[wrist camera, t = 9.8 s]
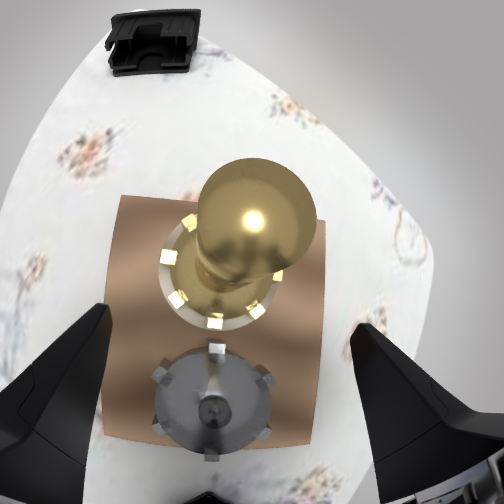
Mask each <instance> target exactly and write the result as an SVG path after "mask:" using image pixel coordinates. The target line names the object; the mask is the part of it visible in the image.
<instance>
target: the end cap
mask: <svg viewBox="0 0 504 504" xmlns="http://www.w3.org/2000/svg"><path fill="white" fill-rule="evenodd" d="M200 17H201V10H200V9H166V10H149V11H139V12H130V13H123V14H117V15H115V16H113V17H112V18H111V23H112V31H111V33H110V34H109V36H108V38H107V40H106V41H105V48H106V51H110V50H111V48H112V46H113V44H114V42H115V47H114V49H113V51H112V53H111V55H110V57H109V59H108V63H109V64H110V68H111V69H113V75H114V76H115V77H120V76H130V75H143V74H162V73H187V72H188V71H189V68H190V62H191V57H192V54H193V51H195V50H196V47H197V41H198V33H199V26H200Z"/></svg>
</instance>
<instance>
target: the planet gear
mask: <svg viewBox="0 0 504 504" xmlns="http://www.w3.org/2000/svg"><path fill="white" fill-rule="evenodd" d="M181 222H182V229H183V230H184V231H183V232H182V233H181V234H180V236H179V237H178V238H177V240H176V242H175V244H174V246H173V249H172V251H171V250H165V249H162V254H161V260H160V263H161V264H162V266H163V267H167V268H169V269H170V277H171V281H172V284H173V287H174V289H175V291H176V292H174V293H173V294H172V295H170V296H169V297H168V298H169V299H170V301H171V302H172V303H173V305H174V306H175V307H176V309H178V308H180V307H181V306H182V305H184V304H186V305H187V306H188V307H189V308H190V309H192V310H193V311H195V312H197V313H199V314H200V315H203V316H206V317H207V322H206V326H207V327H209V328H217V329H221V327H222V319H232V318H237V317H240V316H243V315H245V314H246V315H247V316H248V318H249V319H257V318H258V317H259V316H260V315H262V314H263V313H264V312H265V310H264V308H263V307H262V306H261V305H260V303H261V302H262V301H263V300H264V298H265V297H266V295H267V294H268V292H269V290H270V287H271V285H272V284H275V283H278V282H282V274H283V269H285V268H287V267H289V266H291V265H293V264H294V263H296V262H297V261H298V260H299V259H300V258H301V257H302V256H303V255H304V254H305V253H306V252H307V250H308V249H309V247H310V245H311V243H312V241H313V239H314V235H315V231H316V224H317V216H316V209H315V205H314V201H313V199H312V197H311V194H310V192H309V191H308V189H307V187H306V186H305V185H304V183H303V182H302V181H301V180H300V179H299V178H298V177H297V176H296V175H295V174H294V173H293V172H292V171H290V170H289V169H287V168H286V167H284V166H282V165H280V164H278V163H275V162H273V161H269V160H266V159H260V158H245V159H240V160H236V161H233V162H230V163H228V164H226V165H224V166H222V167H221V168H219V169H218V170H217V171H215V172H214V173H213V174H212V175H211V176H210V178H209V179H208V180H207V181H206V183H205V185H204V186H203V189H202V191H201V193H200V197H199V200H198V208H197V219H196V218H195V216H194V215H193V214H190V215H189V216H187V217H186V218H184V219H183V220H181Z"/></svg>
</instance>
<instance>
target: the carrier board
mask: <svg viewBox="0 0 504 504" xmlns="http://www.w3.org/2000/svg"><path fill="white" fill-rule="evenodd" d="M197 208H198V202H189V201H180V200H170V199H161V198H150V197H140V196H128V195H121V199H120V203H119V208H118V212H117V217H116V222H115V227H114V232H113V238H112V243H111V249H110V256H109V262H108V270H107V277H106V286H105V295H104V304H108V305H109V307H110V311H111V316H112V320H113V327H112V333H111V338H110V344H109V350H108V357H107V363H106V368H105V372H104V376H103V380H102V384H101V396H102V413H103V426H104V435H107V436H112V437H116V438H121V439H126V440H131V441H137V442H143V443H149V444H156V445H164V446H173V447H182V446H180V445H179V444H177V443H176V442H175V441H173V440H172V439H171V438H170V437H169V436H168V435H164V436H161V437H158V435H157V434H156V432H155V431H154V429H153V428H152V426H151V425H152V422H153V419H154V416H155V413H156V411H155V395H156V391H157V388H158V385H159V383H158V382H157V381H156V380H154V379H153V378H151V376H152V375H153V373H154V371H155V370H156V368H157V367H158V365H159V364H160V362H161V361H162V359H163V358H164V357H165V358H166V359H167V360H169V361H170V362H172V361H173V360H174V359H175V358H176V357H178V356H179V355H181V354H182V353H184V352H186V351H188V350H191V349H194V348H198V347H206V346H207V338H214V339H221V340H222V341H223V342H224V343H225V349H228V350H230V351H233V352H235V353H237V354H238V355H240V356H241V357H243V358H244V359H245V360H246V361H247V362H248V363H249V364H250V365H252V366H253V367H255V366H257V365H259V364H261V365H262V366H263V367H265V368H266V369H267V370H269V371H270V372H271V373H272V375H273V377H274V379H275V381H276V383H277V385H276V386H274V387H272V388H270V389H269V391H270V395H271V402H272V404H271V414H270V418H269V421H268V424H269V426H270V427H271V429H272V430H273V431H272V432H271V434H270V435H269V436H268V438H267V439H266V440H265V441H263V440H261V439H259V438H257V439H255V440H254V441H253V442H252V443H251V444H249V445H248V446H246V447H244V448H242V449H264V448H278V447H289V446H298V445H306V444H310V440H311V433H312V426H313V419H314V412H315V404H316V396H317V387H318V377H319V367H320V356H321V344H322V330H323V313H324V290H325V221H324V220H318V219H317V224H316V231H315V235H314V239H313V241H312V243H311V245H310V247H309V249H308V250H307V252H306V253H305V254H304V255H303V256H302V257H301V258H300V259H299V260H298V261H297V262H296V263H294V264H293V265H291V266H289V267H287V268H285V269H283V274H282V282H278V283H275V284H272V285H271V287H270V290H269V292H268V294H267V295H266V297H265V298H264V300H263V301H262V302H261V303H260V305H261V306H262V307H263V308H264V310H265V312H264V313H263V314H262V315H260V316H259V317H258V318H257V319H249V318H248V316H247V315H246V314H245V315H243V316H240V317H237V318H232V319H222V327H221V329H217V328H209V327H207V326H206V322H207V317H206V316H203V315H200V314H199V313H197V312H195V311H193V310H192V309H190V308H189V307H188V306H187V305H186V304H184V305H182V306H181V307H180V308H178V309H176V307H175V306H174V305H173V303H172V302H171V301H170V299H169V298H168V297H169V296H170V295H172V294H173V293H174V292H176V291H175V289H174V287H173V284H172V281H171V277H170V269H169V268H167V267H163V266H162V264H161V263H160V260H161V254H162V249H165V250H171V251H172V249H173V246H174V244H175V242H176V240H177V238H178V237H179V236H180V234H181V233H182V232H183V231H184V230H183V229H182V222H181V220H183V219H184V218H186V217H187V216H189V215H190V214H193V215H194V216H195V218H196V219H197Z"/></svg>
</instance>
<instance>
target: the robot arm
mask: <svg viewBox="0 0 504 504" xmlns="http://www.w3.org/2000/svg"><path fill="white" fill-rule="evenodd" d="M112 327H113V320H112V316H111V311H110V307H109V305H108V304H104V303H97V304H95V305H94V306H93V307H92V308H91V309H90V310H88V311H87V312H86V313H85V314H84V315H83V316H82V317H80V318H79V319H78V320H77V321H76V322H75V323H74V324H73V325H72V326H70V327H69V328H68V329H67V330H66V331H65V332H64V333H63V334H62V335H61V336H60V337H58V338H57V339H56V340H55V341H54V342H53V343H52V344H51V345H50V346H49V347H48V348H47V349H46V350H45V351H44V352H43V353H42V354H41V355H40V356H38V357H37V358H36V359H35V360H34V361H33V362H32V364H30V365H29V366H28V367H27V368H26V369H25V370H24V371H23V372H22V373H21V374H20V375H19V376H18V377H17V378H16V379H15V380H14V381H13V382H11V383H10V384H9V385H8V386H7V387H6V388H4V389H3V390H2V391H1V392H0V504H83V490H84V480H85V471H86V468H85V467H86V462H87V455H88V448H89V442H90V436H91V431H92V425H93V420H94V415H95V410H96V406H97V401H98V397H99V392H100V388H101V384H102V380H103V376H104V372H105V368H106V363H107V357H108V350H109V344H110V338H111V333H112ZM350 346H351V352H352V359H353V365H354V372H355V377H356V382H357V386H358V390H359V394H360V398H361V402H362V407H363V411H364V416H365V420H366V425H367V430H368V435H369V439H370V445H371V450H372V455H373V461H374V467H375V473H376V479H377V485H378V492H379V499H380V504H385V503H389V502H392V501H395V500H398V499H401V498H404V497H407V496H410V495H413V494H414V496H415V497H414V498H412V499H411V500H408V501H406V502H404V503H402V504H504V414H501V413H481V412H477V411H474V410H472V409H470V408H469V407H467V406H466V405H465V404H464V403H462V402H461V401H460V400H458V399H457V398H456V397H454V396H453V395H452V394H451V393H449V392H448V391H447V390H446V389H444V388H443V387H442V386H441V385H440V384H438V383H437V382H436V381H435V380H434V379H433V378H432V377H430V375H428V374H427V373H426V372H425V371H424V370H423V369H422V368H421V367H419V366H418V365H417V364H416V363H415V362H414V361H413V360H411V359H410V358H409V357H408V356H407V355H406V354H405V353H404V352H402V351H401V350H400V349H399V348H398V347H397V346H396V345H394V344H393V343H392V342H391V341H390V340H389V339H387V338H386V337H385V336H384V335H383V334H382V333H381V332H379V331H378V330H377V329H376V328H375V327H374V326H372V325H371V324H370V323H360V324H358V326H357V327H356V329H355V331H354V332H353V334H352V335H351V338H350ZM207 496H211V497H207ZM184 504H231V503H229V502H225V501H223V500H222V499H221V498H219V497H218V496H216V495H215V494H214V493H212V492H206V493H204V494H202V495H200V496H198V497H196V498H194V499H192V500H190V501H188V502H186V503H184Z"/></svg>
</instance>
